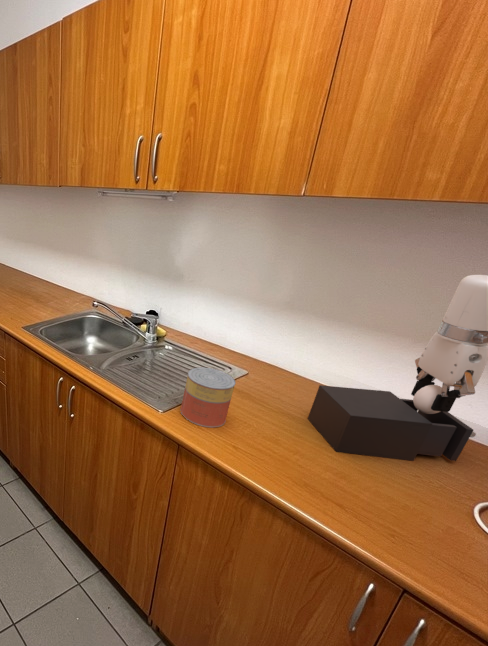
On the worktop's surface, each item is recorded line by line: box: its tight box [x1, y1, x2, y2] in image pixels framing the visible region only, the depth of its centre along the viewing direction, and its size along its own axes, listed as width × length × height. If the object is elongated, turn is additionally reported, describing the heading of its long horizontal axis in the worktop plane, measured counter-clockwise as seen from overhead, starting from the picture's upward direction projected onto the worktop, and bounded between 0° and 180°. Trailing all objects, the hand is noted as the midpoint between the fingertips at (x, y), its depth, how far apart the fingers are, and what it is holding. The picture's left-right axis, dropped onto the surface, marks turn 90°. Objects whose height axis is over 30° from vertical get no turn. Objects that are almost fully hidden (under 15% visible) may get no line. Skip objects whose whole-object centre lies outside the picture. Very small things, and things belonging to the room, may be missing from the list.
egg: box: [412, 384, 442, 414], centre depth 92 cm, size 5×5×7 cm
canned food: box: [179, 366, 236, 428], centre depth 107 cm, size 11×11×12 cm
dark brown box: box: [307, 384, 432, 462], centre depth 97 cm, size 16×14×11 cm
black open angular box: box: [400, 398, 477, 462], centre depth 95 cm, size 18×12×9 cm
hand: (429, 402), depth 92 cm, fingers closed on egg, 5 cm apart
